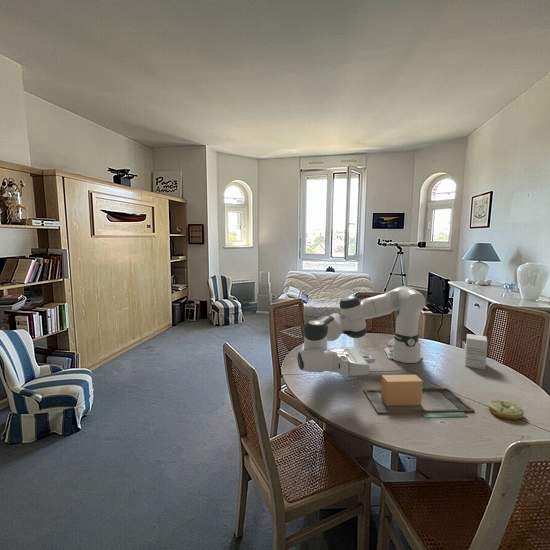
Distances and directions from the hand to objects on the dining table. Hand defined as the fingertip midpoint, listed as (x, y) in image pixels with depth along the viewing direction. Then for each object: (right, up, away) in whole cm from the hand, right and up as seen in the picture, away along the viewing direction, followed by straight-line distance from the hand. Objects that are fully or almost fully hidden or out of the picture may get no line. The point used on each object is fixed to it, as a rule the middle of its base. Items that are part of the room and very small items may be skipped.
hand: (373, 359), depth 127 cm
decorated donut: (+48, -19, -6) cm, 52 cm away
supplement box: (+65, -13, +39) cm, 76 cm away
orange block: (+12, -18, +3) cm, 22 cm away
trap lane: (+18, -18, +3) cm, 25 cm away
